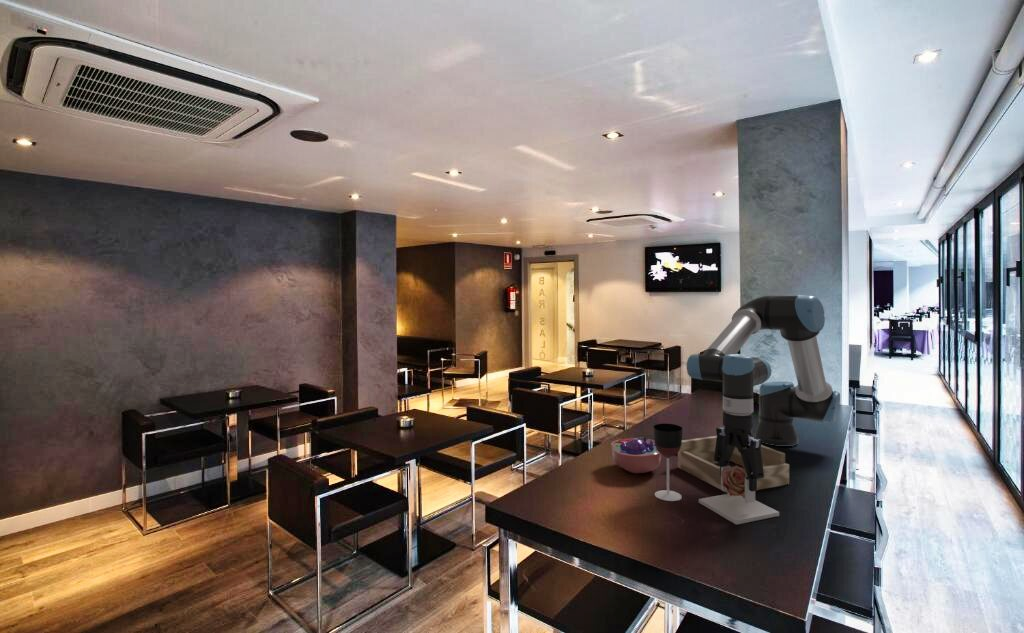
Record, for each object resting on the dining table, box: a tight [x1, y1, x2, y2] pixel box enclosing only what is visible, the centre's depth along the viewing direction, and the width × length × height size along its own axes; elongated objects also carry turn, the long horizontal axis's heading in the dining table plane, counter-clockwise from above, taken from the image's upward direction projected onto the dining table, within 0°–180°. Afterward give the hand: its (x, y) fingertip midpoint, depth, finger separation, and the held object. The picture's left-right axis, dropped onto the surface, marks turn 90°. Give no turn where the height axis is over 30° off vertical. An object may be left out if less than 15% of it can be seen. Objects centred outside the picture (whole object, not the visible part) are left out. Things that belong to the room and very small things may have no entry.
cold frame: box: [677, 435, 790, 494], centre depth 155 cm, size 22×24×9 cm
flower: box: [719, 464, 747, 498], centre depth 132 cm, size 9×9×7 cm
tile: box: [698, 493, 780, 525], centre depth 131 cm, size 14×14×1 cm
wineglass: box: [653, 423, 683, 502], centre depth 141 cm, size 8×9×20 cm
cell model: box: [610, 437, 663, 474], centre depth 162 cm, size 17×20×11 cm
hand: (737, 495), depth 131 cm, fingers closed on flower, 8 cm apart
